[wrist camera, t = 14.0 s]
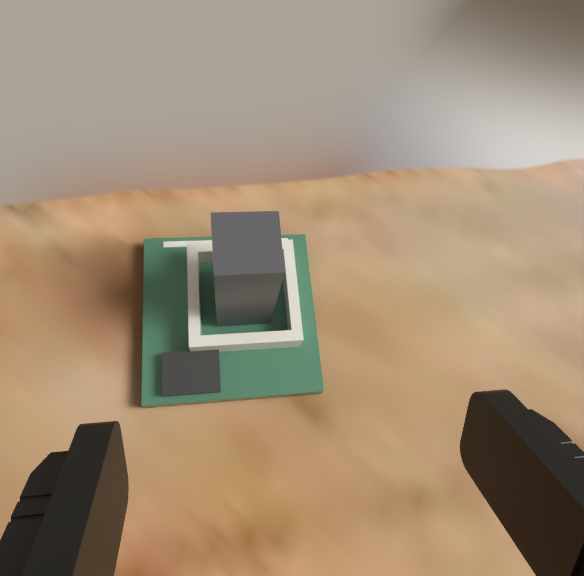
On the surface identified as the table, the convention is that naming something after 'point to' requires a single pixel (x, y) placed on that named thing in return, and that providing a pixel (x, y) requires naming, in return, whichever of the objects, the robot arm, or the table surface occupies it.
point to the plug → (246, 266)
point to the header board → (222, 331)
